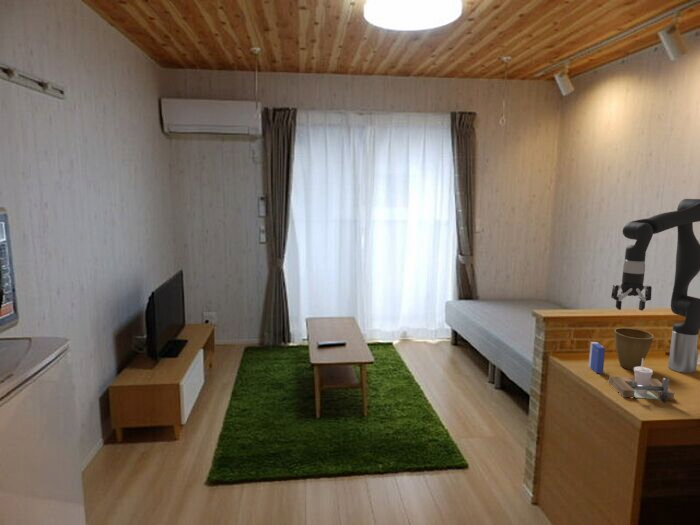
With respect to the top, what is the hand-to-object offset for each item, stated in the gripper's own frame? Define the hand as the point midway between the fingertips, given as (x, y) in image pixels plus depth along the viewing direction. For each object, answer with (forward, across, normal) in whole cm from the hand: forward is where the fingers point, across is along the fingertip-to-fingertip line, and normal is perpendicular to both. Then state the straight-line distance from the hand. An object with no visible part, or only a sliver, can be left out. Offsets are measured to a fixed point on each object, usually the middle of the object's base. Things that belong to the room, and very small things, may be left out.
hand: (629, 309), depth 188 cm
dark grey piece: (+30, 0, +20) cm, 36 cm away
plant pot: (+30, -9, -14) cm, 35 cm away
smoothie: (+30, -1, +14) cm, 33 cm away
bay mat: (+30, 0, +14) cm, 33 cm away
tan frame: (+30, -1, +13) cm, 33 cm away
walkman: (+30, +8, -8) cm, 32 cm away
